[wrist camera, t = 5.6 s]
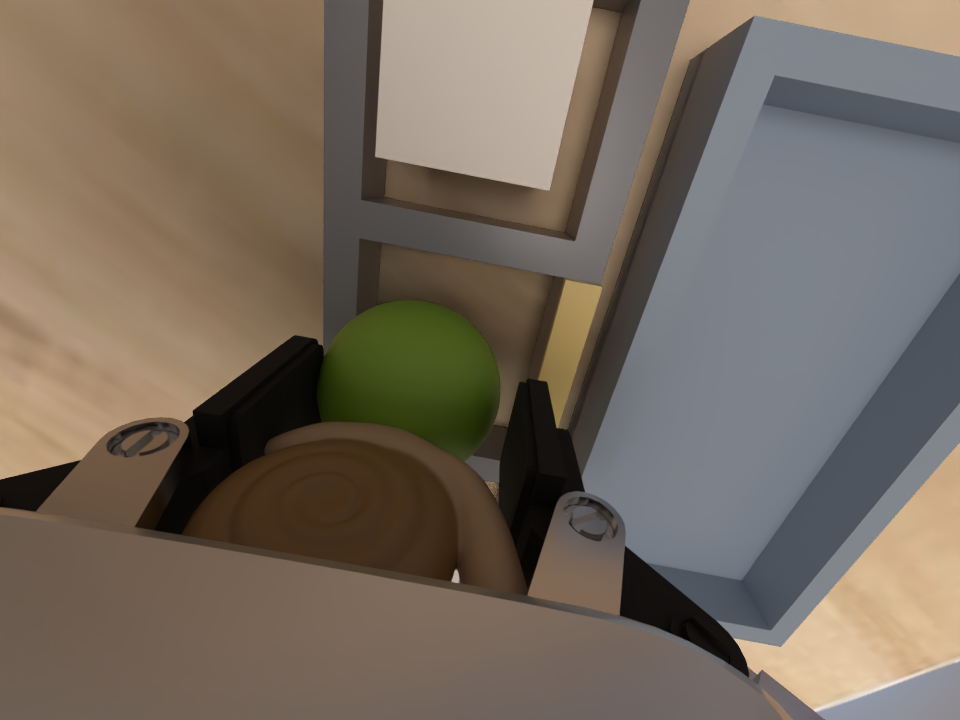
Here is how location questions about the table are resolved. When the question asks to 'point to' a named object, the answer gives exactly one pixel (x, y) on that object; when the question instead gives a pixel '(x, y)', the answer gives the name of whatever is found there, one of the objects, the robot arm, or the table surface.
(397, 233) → the rack
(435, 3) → the block
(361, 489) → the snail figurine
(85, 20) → the table surface
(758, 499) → the tray
